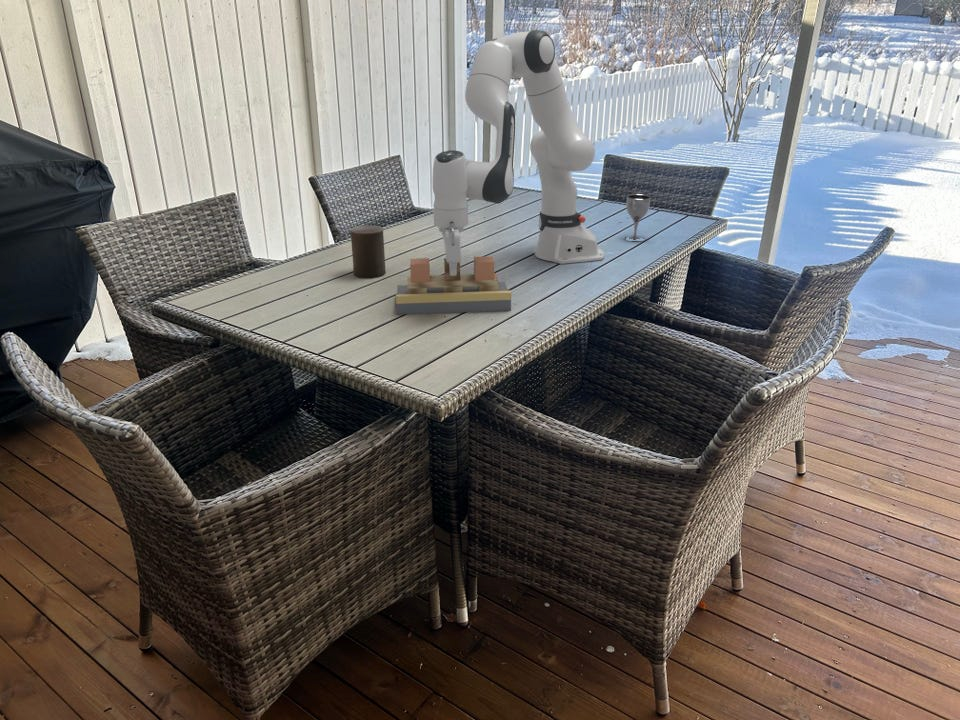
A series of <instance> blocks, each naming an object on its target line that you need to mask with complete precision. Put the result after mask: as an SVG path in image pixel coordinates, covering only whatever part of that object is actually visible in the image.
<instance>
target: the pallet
mask: <svg viewBox="0 0 960 720" xmlns="http://www.w3.org/2000/svg"><path fill="white" fill-rule="evenodd" d="M443 265H444V267H443V268H444V274H442V275H441V274H439V275H438V274H437V275H430V282H420V283H411V275H409V276H407V280H406V282H407V283H406V285H407V286H408V294H426V293H427V288H440V287H443V292H444V293H455V292H463V287H470V286H478V291H479V292H485V291H498V282H499V279H498V276H497V273H494V280H481V281H476V280H475V276H474V273H472V274H471V273H469V274H461V262H460V263H457V275H456V276H451V275H450V268H449V263H447V261H446V257H445V258H443Z"/></svg>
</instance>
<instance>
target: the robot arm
mask: <svg viewBox="0 0 960 720" xmlns="http://www.w3.org/2000/svg"><path fill="white" fill-rule="evenodd" d="M555 54H556V48H555V42H554V39H552V37H551V36H550V35H549V34H548V32H547V31H545V30H540V29H537V30H536V29H533V30H530V31H519V32H514V33H511V34H507V35H505V36H502V37H499V38H498V37H497V38H493V39H491V40H489V41H486V42H484V43H482V44H481V46H480V47H479V48H478V51H477V52H476V54H475V57H474V59H473V63H472V65H471V67H470V71H469V74H468V79H467V83H466V87H465V93H464V97H465V102H466V105H467V107H468V108H469V110H470V112H471V113H473V114H474V115H475V116H476V117H477V118H479V119H480V120H482V121H484V122H486V123H488V124H489V125H491V126H493V127H494V128H495V130H496V139H495V141H496V142H495V153H494V154H495V156H494V159H493V160H492V161H489V162H487V161H476V160H470V159H467V158H466V157H465V154H464V152H462V151H460V150H450V149H449V150H447V151H441V152H440V153H438V154H436V155H435V157H434V160H433V167H432V191H433V194H434V195H433V196H434V199H433V200H434V201H433V225H434V226H436V227H437V228H438V231H439V232H440V233H441V234H442V239H443V246H444V252H445V253H444V254H445V258H446V261H447V263H449V268H450V275H451V276H456V275H457V263H460V264H461V260H462V258H461V257H462V255H461V254H462V253H461V249H462V248H461V246H462V245H461V234H460V233H462V232H463V231H464V227H467V226H468V225H469V204H468V199H469V200H476V201H485V202H487V203H493V204H498V205H499V204H501V203H503V202H505V201H506V200H507V199H509V198H510V196H512V193H513V190H514V186H515V185H514V184H515V176H514V175H515V174H514V159H515V157H514V156H515V143H516V142H515V141H516V126H517V125H516V120H517V119H516V111H515V108H514V105H512V103H510V102H509V90H510V85H511V80H512V79H517V78H518V79H519V78H521V77H522V81H523V82H522V83H523V87H524V90H525V95H526V97H527V101H528V104H529V108H530V112H531V115H532V119H533V120H534V122H535V123H536V124H537V126H538V127H539V128H540V130H539V131H537V132H535V133H534V135H533V136H532V137H531V140H530V144H529V150H530V153H531V156H532V157H533V159H534V160H535V163H536V166H537V170H538V175H539V179H540V184H541V202H540V203H541V204H540V205H541V206H540V207H541V210H540V211H539V217H538V228H539V229H538V230H539V234H538V240H537V245H536V249H535V252H534V256H535V257H536V258H538V259H541V260H544V261H547V262H552V263H553V262H554V263H557V264H561V265H562V264H563V265H564V264H572V263H574V264H575V263H584V262H594V261H602V260H604V258H605V253H604V251H603V250H602V249H601V248H600V247H598V240H597V238H596V236H595V235H594V233H593V232H591V230H589V229H588V228H587V227H585V226H584V225H583V223H585V222H586V220H587V219H586V217H585V216H584V215H582V214H581V213H579V212H578V211H577V200H578V188H577V185H576V183H575V182H574V180H573V178H572V173H571V172H581V171H582V172H583V171H585V170H587V169H588V168H589V167H590V166H591V165H592V163H593V161H594V159H595V155H596V154H595V153H596V149H595V146H594V144H593V142H592V141H591V139H589V138H588V137H587V136H586V134H585V133H584V132H583V130H582V128H581V126H580V125H579V123H578V121H577V119H576V117H575V115H574V113H573V110H572V108H571V106H570V103H569V99H568V96H567V92H566V87H565V85H564V84H565V83H564V80H563V77H562V74H561V72H560V68H559V65H558V63H557V61H556V59H555V56H556V55H555Z"/></svg>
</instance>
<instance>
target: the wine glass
mask: <svg viewBox="0 0 960 720" xmlns="http://www.w3.org/2000/svg"><path fill="white" fill-rule="evenodd" d="M651 199H652V198H651V196H650V195H648V194H644V193H643V194H642V193H641V194H640V193H633V194H628V195H626V210H627V211H626V212H627V214H628V215H629V217H630V218H631V220H632V222H633V227H634V228H633V229H634V230H633V231H634V232H633V235H631V237H629V236H628V237H629V239H633V240H636V239H640V237H641V236H637V231H638V225H639V223H640V222H641V220H642V219H643V218H644V217H645V216H646V215H647V214H648V211H649V209H650V204H651Z"/></svg>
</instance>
